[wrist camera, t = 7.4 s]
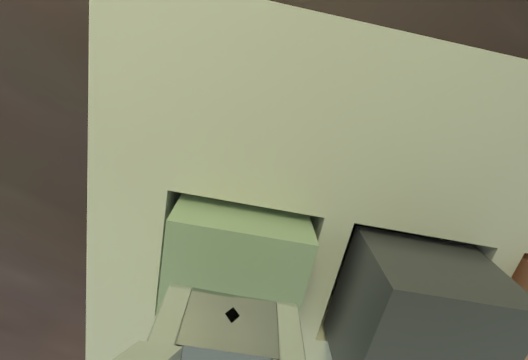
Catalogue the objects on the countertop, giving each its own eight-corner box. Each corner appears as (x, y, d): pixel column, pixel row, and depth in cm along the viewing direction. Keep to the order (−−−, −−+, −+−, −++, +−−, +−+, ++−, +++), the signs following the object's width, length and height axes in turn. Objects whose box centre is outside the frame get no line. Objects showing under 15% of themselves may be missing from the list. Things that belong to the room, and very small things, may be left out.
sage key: (190, 179, 11) (166, 220, 8) (304, 199, 11) (319, 246, 8) (177, 275, 12) (153, 339, 10) (280, 291, 13) (285, 357, 10)
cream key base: (143, -10, 10) (89, -41, 7) (685, 111, 12) (844, 131, 9) (121, 339, 16) (85, 414, 12) (504, 392, 17) (562, 470, 14)
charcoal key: (356, 225, 10) (393, 289, 7) (474, 246, 10) (553, 314, 8) (323, 323, 12) (344, 408, 9) (428, 339, 12) (481, 426, 9)
